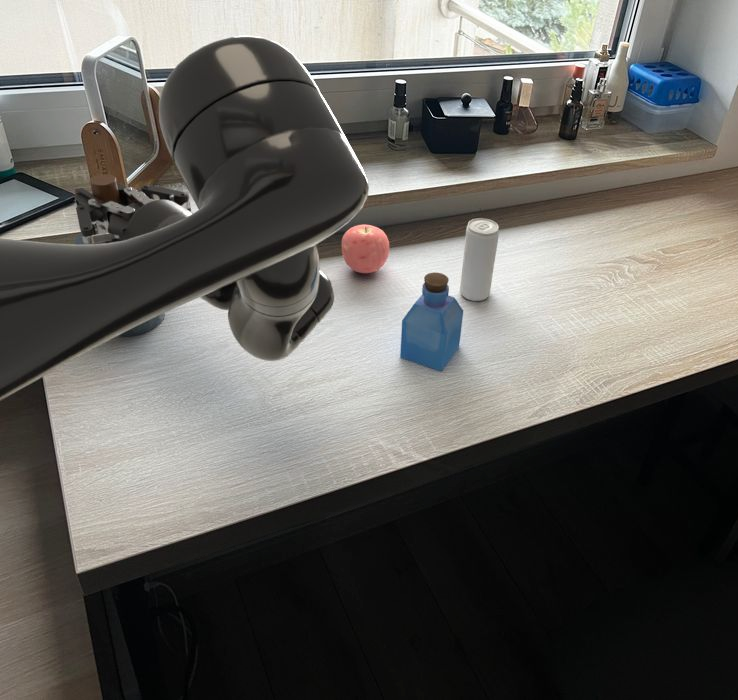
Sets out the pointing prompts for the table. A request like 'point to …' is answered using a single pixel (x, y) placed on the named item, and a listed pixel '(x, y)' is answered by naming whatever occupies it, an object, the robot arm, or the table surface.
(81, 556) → the table surface
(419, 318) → the perfume bottle
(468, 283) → the beverage can
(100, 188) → the lid
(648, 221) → the table surface
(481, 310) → the table surface
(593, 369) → the table surface
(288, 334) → the robot arm
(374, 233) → the apple
